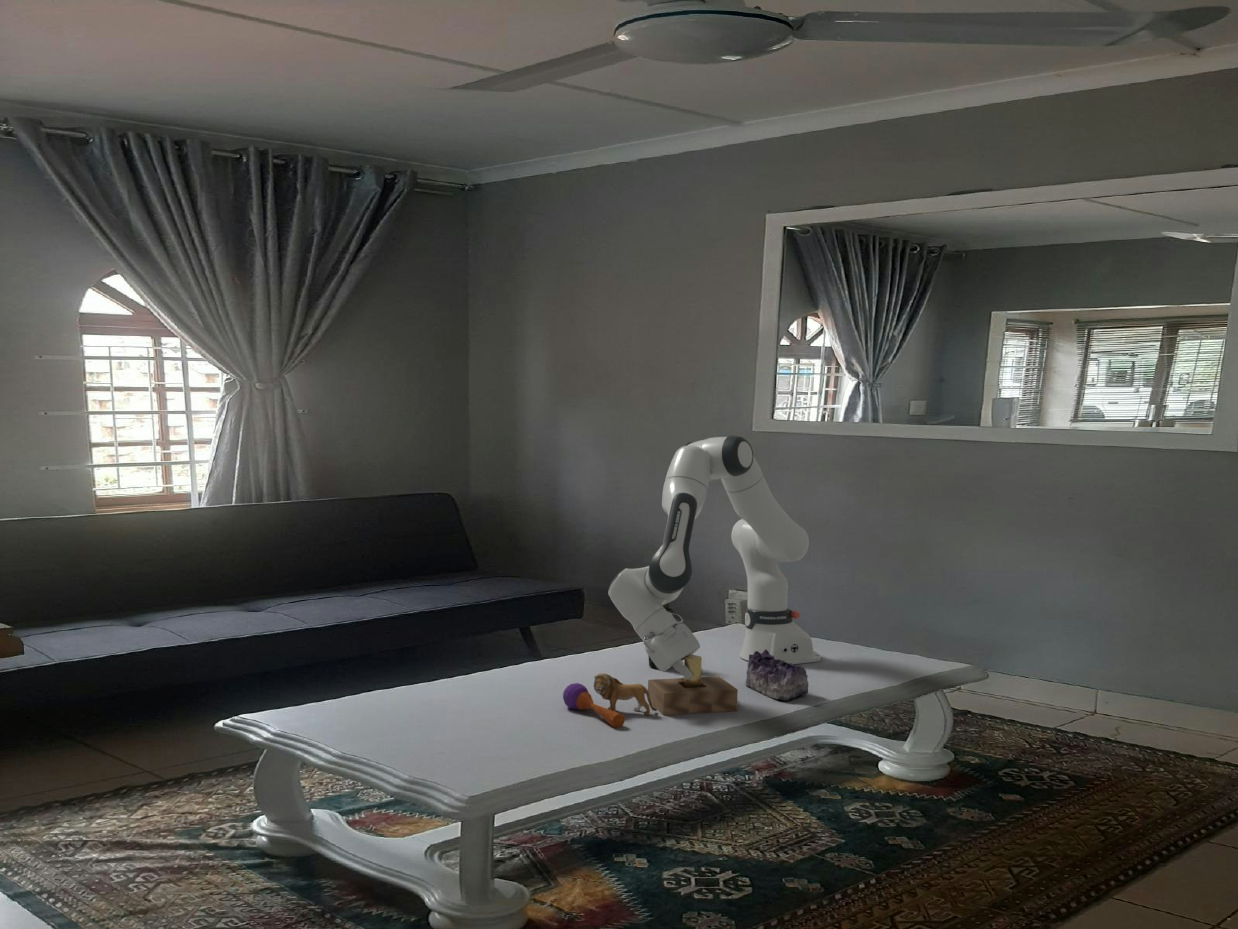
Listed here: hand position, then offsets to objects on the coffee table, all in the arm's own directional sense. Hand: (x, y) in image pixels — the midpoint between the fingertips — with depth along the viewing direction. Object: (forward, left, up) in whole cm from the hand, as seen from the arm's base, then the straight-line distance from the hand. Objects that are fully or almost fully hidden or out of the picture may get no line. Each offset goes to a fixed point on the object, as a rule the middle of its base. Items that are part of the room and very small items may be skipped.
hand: (695, 675), depth 252 cm
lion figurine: (+18, +2, -8) cm, 20 cm away
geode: (-23, -9, -8) cm, 26 cm away
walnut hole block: (0, 0, -7) cm, 7 cm away
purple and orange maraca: (+25, +3, -8) cm, 27 cm away
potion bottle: (-4, -36, -8) cm, 37 cm away
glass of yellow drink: (0, 0, -6) cm, 6 cm away
